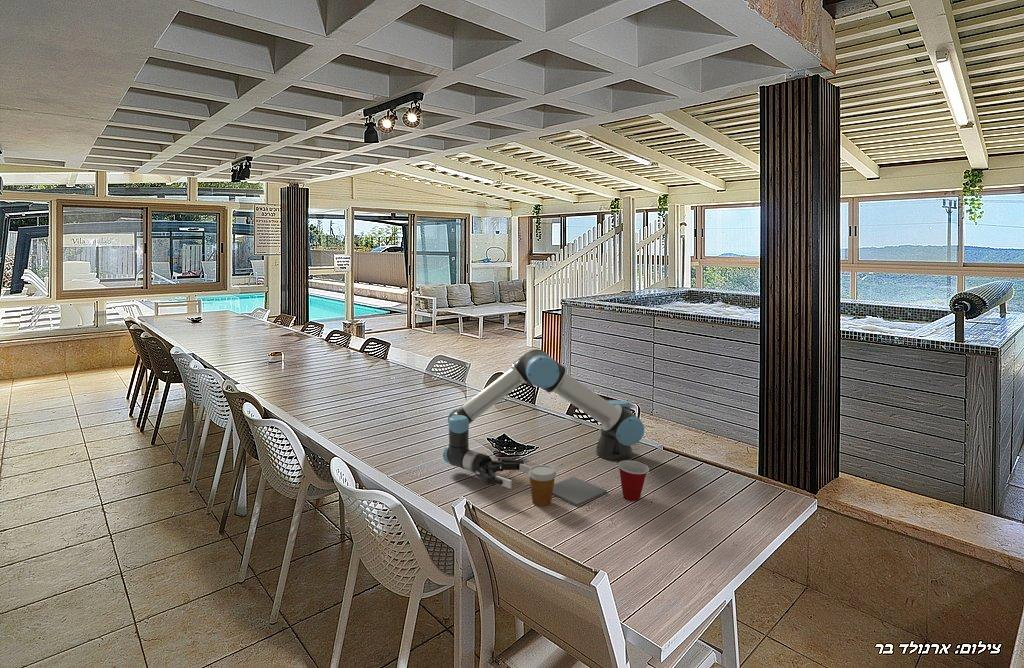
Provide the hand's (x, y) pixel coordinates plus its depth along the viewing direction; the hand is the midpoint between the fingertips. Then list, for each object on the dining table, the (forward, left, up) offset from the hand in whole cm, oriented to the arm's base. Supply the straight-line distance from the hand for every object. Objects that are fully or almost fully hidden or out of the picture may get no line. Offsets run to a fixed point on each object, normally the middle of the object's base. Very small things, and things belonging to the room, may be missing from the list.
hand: (523, 478), depth 200 cm
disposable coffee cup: (-2, +8, -7) cm, 11 cm away
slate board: (-17, +10, -7) cm, 21 cm away
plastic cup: (-29, +26, -7) cm, 39 cm away
